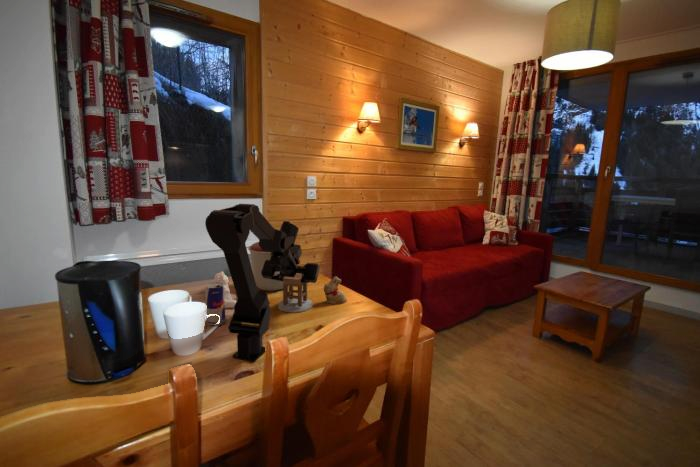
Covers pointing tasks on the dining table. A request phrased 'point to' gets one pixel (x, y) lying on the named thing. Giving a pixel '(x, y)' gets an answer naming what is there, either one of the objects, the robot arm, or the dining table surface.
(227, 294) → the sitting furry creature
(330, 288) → the chocolate bunny
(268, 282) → the canister
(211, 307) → the energy drink
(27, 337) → the dining table surface
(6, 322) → the dining table surface
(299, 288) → the stool
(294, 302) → the mat
